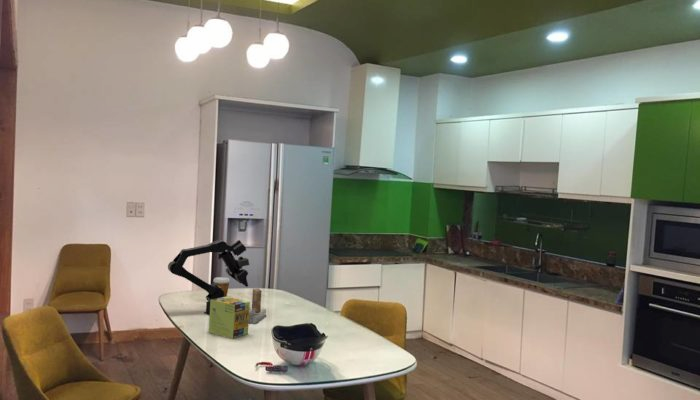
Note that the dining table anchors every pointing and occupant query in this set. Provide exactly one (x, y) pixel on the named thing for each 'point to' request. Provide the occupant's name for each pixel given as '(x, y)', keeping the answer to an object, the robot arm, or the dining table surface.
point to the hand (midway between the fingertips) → (244, 284)
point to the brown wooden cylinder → (222, 284)
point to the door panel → (256, 300)
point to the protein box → (229, 317)
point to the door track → (256, 316)
